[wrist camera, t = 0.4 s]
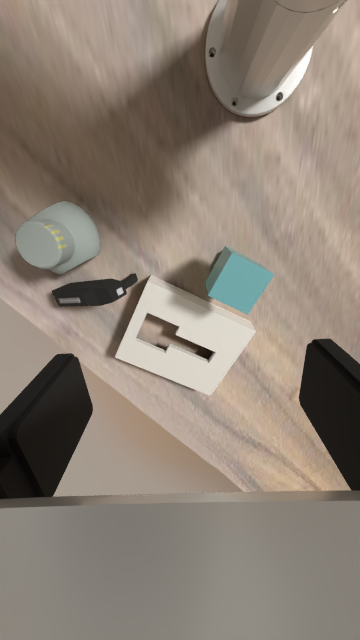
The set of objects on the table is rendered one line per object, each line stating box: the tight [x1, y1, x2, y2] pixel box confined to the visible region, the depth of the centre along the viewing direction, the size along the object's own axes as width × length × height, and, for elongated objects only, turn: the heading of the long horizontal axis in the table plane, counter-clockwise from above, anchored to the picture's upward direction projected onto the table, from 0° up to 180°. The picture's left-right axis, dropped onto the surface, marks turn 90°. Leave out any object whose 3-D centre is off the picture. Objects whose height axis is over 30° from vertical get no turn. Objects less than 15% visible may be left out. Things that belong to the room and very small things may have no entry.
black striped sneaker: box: [52, 274, 138, 306], centre depth 40 cm, size 3×16×10 cm, turn 104°
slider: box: [205, 246, 274, 314], centre depth 35 cm, size 6×6×11 cm
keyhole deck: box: [115, 275, 256, 396], centre depth 44 cm, size 16×20×4 cm
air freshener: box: [15, 201, 101, 275], centre depth 34 cm, size 11×8×10 cm
